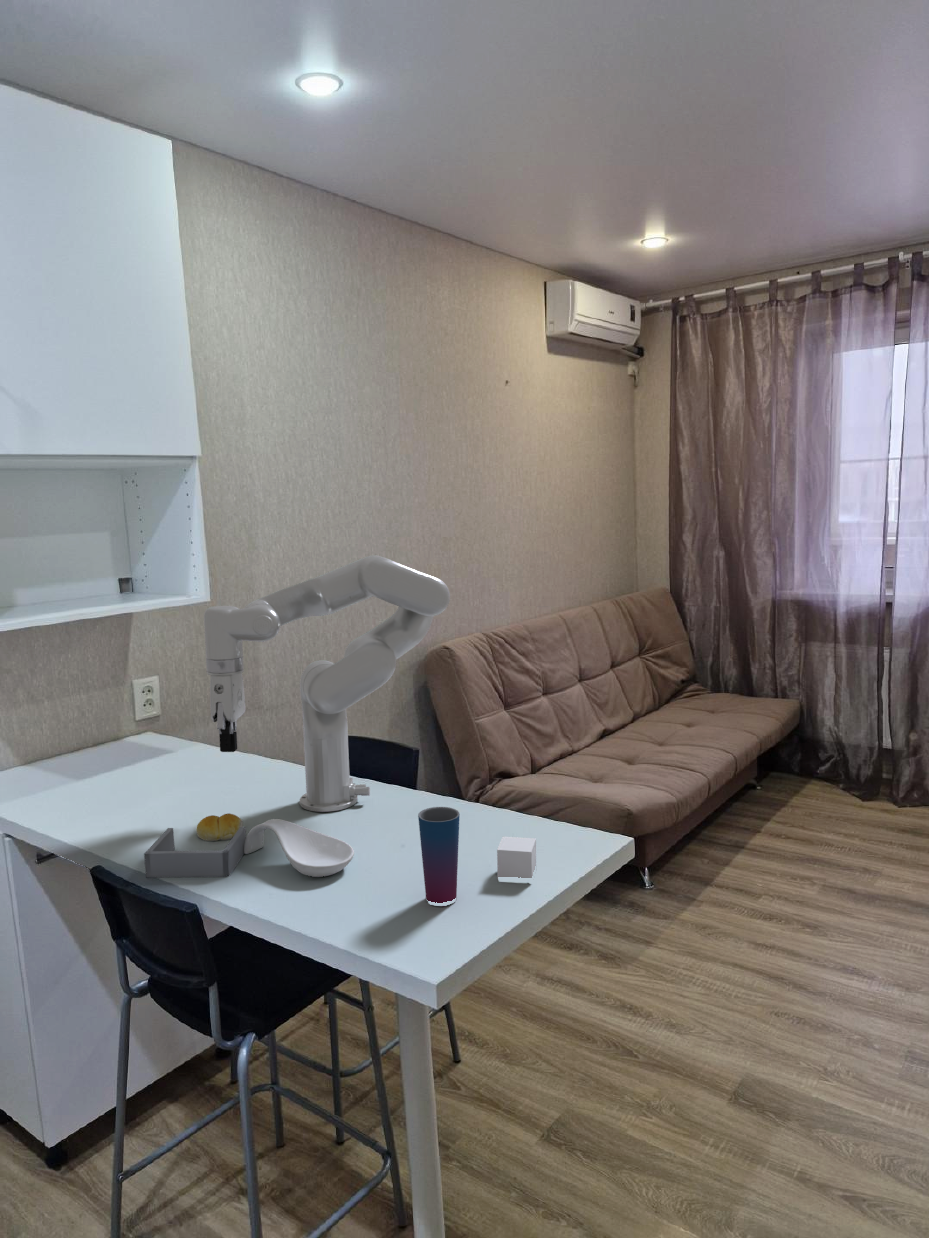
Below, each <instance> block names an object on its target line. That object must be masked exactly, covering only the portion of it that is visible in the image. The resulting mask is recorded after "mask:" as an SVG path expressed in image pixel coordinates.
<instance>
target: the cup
mask: <svg viewBox="0 0 929 1238" xmlns="http://www.w3.org/2000/svg"><path fill="white" fill-rule="evenodd" d="M417 817H418V828H419V839H420V848H421V859H422V860H421V861H422V868H423V869H422V870H423V881H424V890H425V891H424V892H425V900H426V899H427V900H428V901H431V902H435V903H436V902H437V903H443V902H447V901H452V900H453V899H455V898H456V899H457V891H458V890H457V889H458V888H457V887H458V866H459V865H458V864H459V863H458V862H459V842H460V841H459V839H460V811H459V810H457V809H455V808H454V807H453V808H452V807H447V806H433V807H428V808H424V809H422V810H421V811H419V812H418V815H417Z"/></svg>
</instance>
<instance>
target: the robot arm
mask: <svg viewBox="0 0 929 1238" xmlns="http://www.w3.org/2000/svg"><path fill="white" fill-rule="evenodd" d="M372 597H375V598H376V599H379V600H382V601H384V602H386V603H388V604H391V605H395V606H397V607H398V608H397V609H396V611H395V612H394V613H393V614H392V615H391V616H390V617H388V618H387V619H386V620H384V621H383V622H381V623H380V624H378V625H376V626H375V627H373V628H372V629H370V630H369V631H366V632H365V633H363V634H361V635H360V636H358V637H356V638H354V639H353V640H352V641H350V643H349V644H348V645H347V646H346V648H345V650H344V655H343V658H341V659H340V660H338V661H337V662H335V663H334V662H332V661H329V660H325V659H324V660H323V659H320V660H315V661H312V662H311V663H309V664H308V665H307V666H306V667H304V669H303V671H302V673H301V675H300V677H299V678H300V680H299V696H300V702H301V704H300V705H301V712H302V725H303V727H302V729H303V750H304V771H305V790H306V793H305V794H302V796H300V798H299V806H300V807H301V808H302V809H305V810H306V811H310V812H318V813H319V812H321V813H327V812H329V813H330V812H336V811H341V810H342V811H343V810H345V809H348V808H351V807H352V806H354V805H356V803H357V802H358V796H361V797H362V796H363V797H364V796H365V797H367V796H368V797H369V796H370V795H371V786H367V784H365V783H364V784H363V783H362V784H356V783H355V782H354V780H353V777H350V776H351V775H350V759H349V757H350V756H349V733H348V732H349V731H348V730H349V729H348V725H349V724H348V714H347V713H348V712H347V709H348V708H350V707H352V706H353V705H355V704H357V703H358V702H359V701H361V700H362V699H364V698H365V697H367V696H369V695H370V694H372V693H373V692H375V691H376V690H378V689H380V688H381V687H382V686H384V685H385V684H386V683H388V681H389V680H390V679H391V678H392V677H393V675H394V674H395V670H396V666H397V660H398V659H400V658H401V657H403V656H404V655H405V654H407V652H409V651H411V650H412V649H413V648H415V647H416V646H418V645H419V643H421V642H422V641H423V639H424V638H425V637H426V636H427V634H428V632H429V630H430V628H431V625H432V622H433V620H434V617H435V616H439V615H440V614H442V613H443V612H444V611H445V610H446V609H447V608H448V606H449V604H450V601H451V600H450V599H451V593H450V589H449V587H448V585H447V584H446V582H444V581H443V580H442V579H440V578H438V577H435V576H433V575H430V574H427V573H425V572H422V571H419V570H417V569H414V568H411V567H409V566H406V565H403V564H401V563H399V562H396V561H394V560H392V559H390V558H387V557H384V556H381V555H376V554H373V555H368V556H365V557H362V558H360V559H357V560H355V561H353V562H350V563H346V564H345V565H343V566H340V567H338V568H335V569H333V570H330V571H328V572H325V573H323V574H321V575H318V576H315V577H313V578H309V579H307V580H304V581H301V582H299V583H296V584H294V585H291V586H288V587H284V588H281V589H279V590H276V591H274V592H272V593H269V594H267V595H265V596H264V595H263V596H262V597H260V598H258V599H255V600H252V601H251V602H249V603H248V604H246V605H245V607H243V608H239V607H237V606H234V605H215V606H210V607H208V608H206V609H205V611H204V612H203V628H204V645H205V646H204V647H205V648H204V650H205V666H206V669H205V670H206V675H208V676H209V677H210V678H209V679H210V680H209V709H210V711H209V712H210V719H211V721H212V722H213V723H216V729H217V730H218V734H219V737H218V738H219V751H220V752H221V753H234V752H236V751H237V750H238V736H237V729H238V726H237V721H238V720H239V719H240V718H241V717H242V716H243V715H244V714H245V713H246V708H247V707H246V697H245V685H244V677H243V673H244V672H245V667H244V665H245V663H244V646H243V641H246V642H247V641H248V642H258V643H260V642H268V641H270V640H273V639H274V638H276V636H277V635H278V634H279V632H280V630H281V629H280V628H281V627H282V626H284V625H287V624H289V623H292V622H295V621H298V620H300V619H304V618H309V617H324V616H328V615H331V614H332V615H333V614H335V613H337V612H339V611H341V610H344V609H346V608H349V607H351V606H353V605H355V604H357V603H360V602H364V601H366V600H368V599H371V598H372Z"/></svg>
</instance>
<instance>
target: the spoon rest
mask: <svg viewBox="0 0 929 1238" xmlns="http://www.w3.org/2000/svg"><path fill="white" fill-rule="evenodd" d="M266 829H269V830H270V831H271V830H272V831H273V832H274V833H275V835H276V837H277V838H278V841H279V844H280V846H281V848H282V851H283V852H284V854H285V856H286V858H287V860H288V861H289V863H290V865H291V866H292V867H293V868H294V869H295V870H296V871H298V872H299V873H300V874H302V875H305V876H307V875H308V876H307V877H310V876H312V877H311V878H322V877H323V876H324V877H328V876H329V877H330V876H332V875H335V874H337V873H339V872H340V871H343V869H345V868H346V867H347V866H348V865H349V864H350V862H352V860H353V858H354V856H355V850H354V848H353V847H352V846H351V845H350V843H347V842H346V841H344V840H342V839H339V838H337V837H334V836H331V835H328V834H325V833H322V832H318V831H316V830H313V829H310V828H307V827H305V826H302V825H300V824H297V823H294V822H291V821H287V820H285V819H279V818H272V819H271V818H270V819H268V820H266V821H264V822H263V823H259V824H257V825H254V826H253V827H252V828H251V829H250V830H249V832H248V833H247V834H246V840H245V843H244V854H245V855H248V854H251V853H254V852H257V850H260V849H262V848H263V847H264V833H265V830H266Z"/></svg>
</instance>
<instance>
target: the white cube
mask: <svg viewBox="0 0 929 1238" xmlns="http://www.w3.org/2000/svg"><path fill="white" fill-rule="evenodd" d="M496 851H497V853H496V856H497V857H496V860H497V861H496V863H497V878H498V877H518V878H520V877H521V878H532V876H533V872H534V870H535V866H536V867H537V838H536V837H534V838H532V837H517V836H502V837H501V840H500V842H499V844H498V847H497V849H496Z"/></svg>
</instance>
